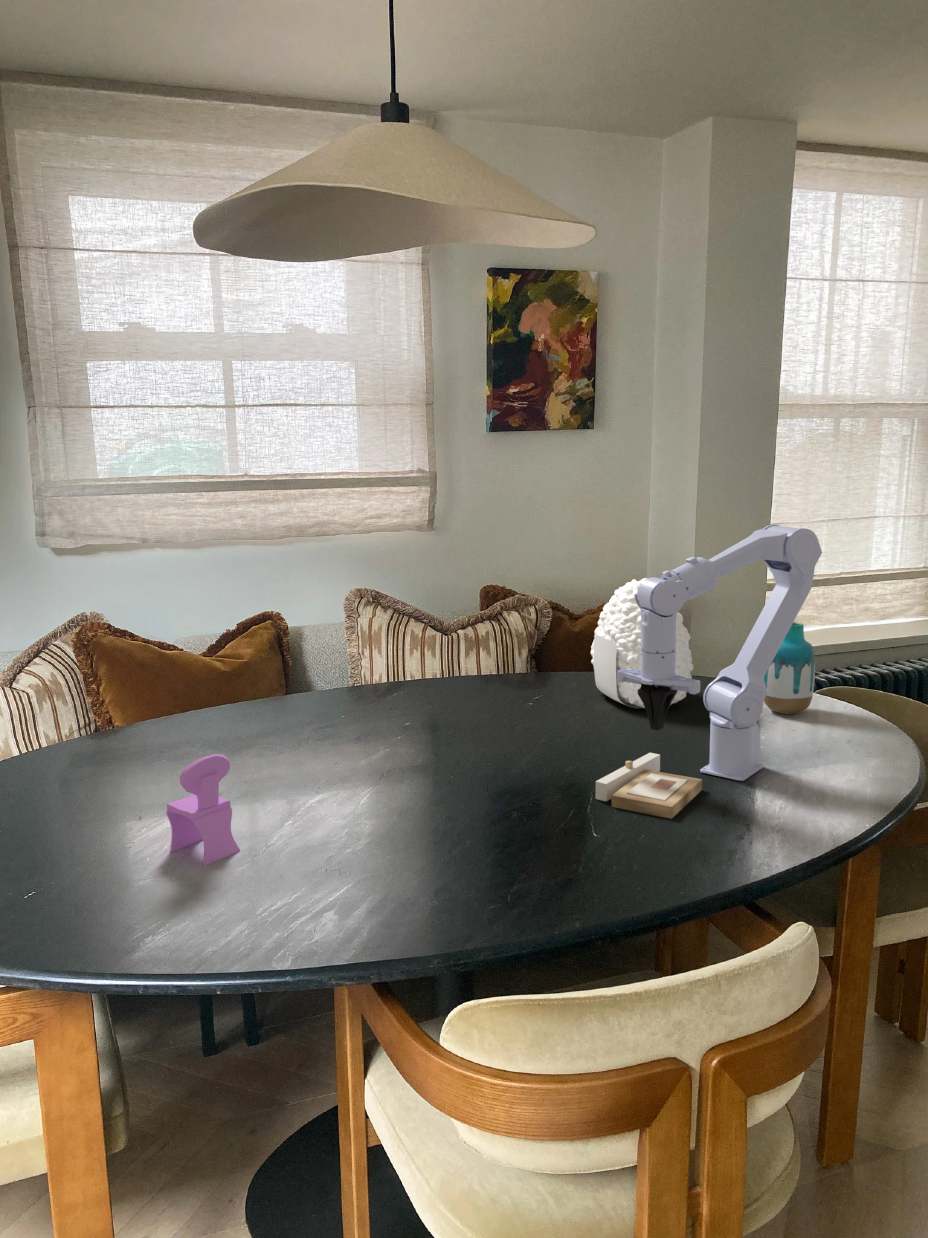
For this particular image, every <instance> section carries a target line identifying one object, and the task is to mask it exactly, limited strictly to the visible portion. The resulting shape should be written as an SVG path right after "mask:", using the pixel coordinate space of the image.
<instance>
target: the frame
mask: <svg viewBox="0 0 928 1238" xmlns="http://www.w3.org/2000/svg"><path fill="white" fill-rule="evenodd" d="M702 791H703V779H702V778H697V777H691V776H685V775H679V774H673V773H669V772H668V773H667V772H661V771H659V772H657V771H651V770H644V771H643V772H641V773H640V774H639V775H637V776H636V777H635V778H634V779H632V780H631V781H630V782H628V783H627V784H626V785H625V786H623V787H622V788H621V789H619V790H618V791H617V792H615V793H614V794H613V795H612V799H611V807H612V808H616V809H620V810H621V809H622V810H626V811H632V812H636V813H641V814H646V815H651V816H656V817H662V818H665V819H666V818H667V819H673V818H674V817H675V816H676V815H678V814H679V812H681V811H682V810H683V809H684V808H685V806H687V805H688V804H689V803H690V802H691V801H692V800H693V799H694V798H695V797H696V796H697V795H698V794H699V793H700V792H702Z"/></svg>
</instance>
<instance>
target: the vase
mask: <svg viewBox="0 0 928 1238" xmlns="http://www.w3.org/2000/svg"><path fill="white" fill-rule="evenodd" d="M804 627H805V626H804V624H803V623H802V622H798V621H794V622H793V624H792V626H791V627H790V629H789V631H788V633H787V635H786V637H785V639H784V641H783V642H782V644H781V646H780V648H779V650H778V652H777V654H776V655H775V657H774V659H773V661H772V663H771V665H770V667H769V668H768V670H767V672H766V674H765V676H764V678H763V679H764V682H765V685H766V688H767V695H766V697H765V699H764V702H763V704H765V706H766V707H767V709H769V710H771V711H773V712H777V713H779V714H787V715H788V714H789V715H790V714H799V713H802V712H804V711H806V710H807V709H808V708H809V707H810V705H811V703H812V701H813V697H814V689H815V679H816V677H815V675H816V655H815V654H816V653H815V649H814V647H813V645H812V644H811V643H810V642H808V641H807V640H806V638H805V634H804V633H805V632H804Z"/></svg>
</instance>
